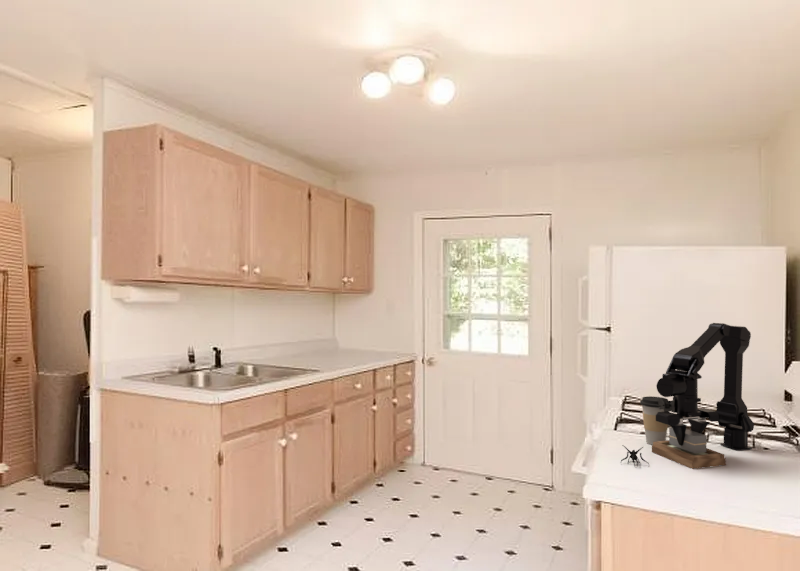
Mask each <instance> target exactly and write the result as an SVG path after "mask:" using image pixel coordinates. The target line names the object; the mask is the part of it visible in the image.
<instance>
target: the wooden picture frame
mask: <svg viewBox="0 0 800 571" xmlns="http://www.w3.org/2000/svg"><path fill="white" fill-rule="evenodd" d="M651 453H653V454H656V455H658V456H661V457H663V458H665V459H667V460H671V461H672V462H674V461H675V462H674V463H677V464H679V463H680V464H679V465H682V466H684V467H687V468H689V469H691V468H692V469H691V470H694V468H696V469H703V468H702V467H705V468H710V466H713V467H720V466H719V465H722V466H727V465H726V463H727V459H726V458H725V453H721V452H719V451H715V450H713V449H710V448H708V447H706V452H703V453H692V452H689V451H687V450H684V449H681V448H679V447H676V446H673V445H671V444H669V440H666V441H657V442H653V445H651Z"/></svg>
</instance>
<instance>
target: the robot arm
mask: <svg viewBox="0 0 800 571" xmlns="http://www.w3.org/2000/svg"><path fill="white" fill-rule="evenodd" d="M751 335H752V334H751V331H750V330H749V329H748V328H747V327H746V326H741V325H740V326H739V325H738V326H737V325H730V324H726V323H721V322H720V323H718V322H712V323H710V324H709V325H708V328H707V329H706V330H705V331H704V332H703V333H702V334H701V335H700V336H699V337H698V338H697V339H696V340H695V341H693V343H692V344H691V345H690V346H688V347H684V348H681V349H679V351H677V352H675V354H673V357H672V358H671V361H669V362H670V363H669V365H668V367H667V368H666V370H665V373H662V377H661V378H659V379H658V381H657V382H656V385H655V386H656V391H657V392H658V394H659V395H660V396H661V397H663V398H666V399H659V401H658V406H659V409H664V412H658V413H657V414H656V421H658V422H661V423H664V424H667V425H668V426H670V428H672V429H673V431H674V433H675V435H676V438H677V441H678V443H679V445H681V446H682V445H683V442H684V438H685V432H686V429H687V426H688V425H687V424H684V421H688V422H689V424H690V430H691V431H694V432H697V433H700V434H703V433H704V430H706V427H707V426H709V425H710V422H711V423H712V422H718V426H719V427H722V428H723V429H724V430H723V431H724V432H723V443H722V442H721V443H720V446H723V447H725V448H728V449H731V450H733V451H744V450H745V451H746V450H752V449H753V447H752V446H749V444H748V443H749V441H748V439H749V437H748V434H749V433H751V432H752V431H754V427H755V423H754V422H753V420H752V418H750V415H748V406H747V405H746V403H745V402H744V400H743V398H742V397H743V396H742V392H743V391H742V390H743V366H744V364H743V362H744V360H743V359H744V353H745V352H746V350H747V349H748V348H749V347H750V343H751V342H750V341H751V337H752V336H751ZM718 344H720V346H721V348H722V350H723V352H724V354H725V355H724V378H723V380H724V383H723V397H722V398H721V399H720V400H719V401H716V411H715V410H712V409H709V408H706V407H704V408H698V405H699V403H701V402H702V398H700V397H698V396H699V395H698V386H699V385H698V380H699V379H702V378H703V377H702V375H701V374H700V373H699V371H700V370H701V369H702V368H703V366H704V364H705V358H706V356H707V355H708V353H710V352H711V351H712V350H713V348H715V347H716V346H717V345H718ZM669 397H672V400H668V401H667V399H668V398H669ZM707 419H708V420H709V421H710V422H709V421H707Z"/></svg>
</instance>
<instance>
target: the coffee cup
mask: <svg viewBox="0 0 800 571" xmlns="http://www.w3.org/2000/svg"><path fill="white" fill-rule="evenodd" d="M641 399H642V400H640V403H639V404H640V405H641V407H642V408H641V409H642V420H643V428H644V433H645V434H644V435H645V442H646V444H648V445H651V446H653V442H657V441H667V432H668V429H669V428H668V426H669V425H667V424H664V423H661V422H658V421H656V414H657V413H658V412H664V409H659V406H658V401H659V399H667V401H669V399H668V398H667V397H663V396H650V395H649V396H643V397H642V398H641Z"/></svg>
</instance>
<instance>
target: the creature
mask: <svg viewBox="0 0 800 571" xmlns="http://www.w3.org/2000/svg"><path fill="white" fill-rule="evenodd" d="M622 447H624V449H625V450H627V452H626V456H625V458H623V459H621V461H620V462H623V461H624V460H627V459H628V460H627V463H628V462H629V463H630V459H631V461H632V463H633V466H634V467H636V466H637V467H638V466H639V463H640V460H642V461H643V462H645V463H647V465H648V466H647V468H649V467H650V464H649V462H648V461H647V460H645V459H644V457H642V452H640V451H641V450H642V449H644V446H642V447H641V448H639V449H638V450H636V451H635V449H633V450H632V451H631V450H629V448H627V447H626V446H625V445H624V444H622ZM638 453H639V457H640V458H638V456H637V454H638ZM629 454H630V455H629ZM635 463H636V465H635ZM640 464H641V463H640Z"/></svg>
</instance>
